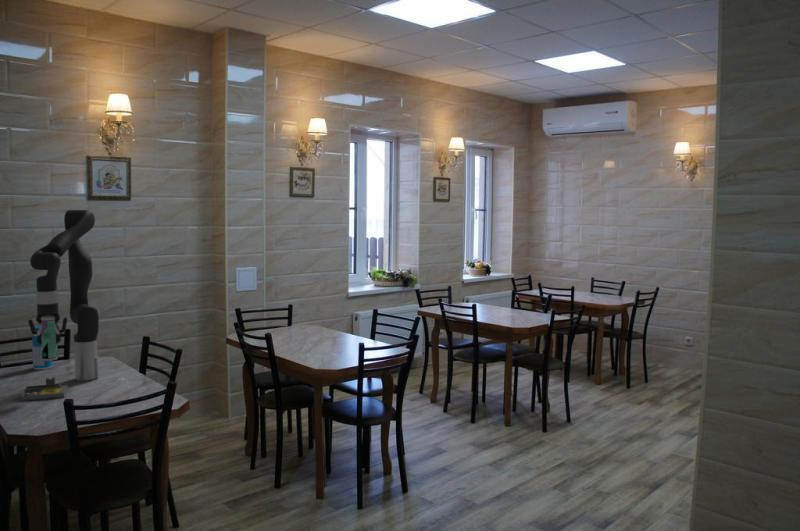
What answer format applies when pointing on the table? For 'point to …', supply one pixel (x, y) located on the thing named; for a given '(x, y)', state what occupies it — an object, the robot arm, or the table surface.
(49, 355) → the spray can
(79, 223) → the robot arm
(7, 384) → the table surface
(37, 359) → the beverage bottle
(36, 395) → the panel
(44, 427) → the table surface
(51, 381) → the toggle
